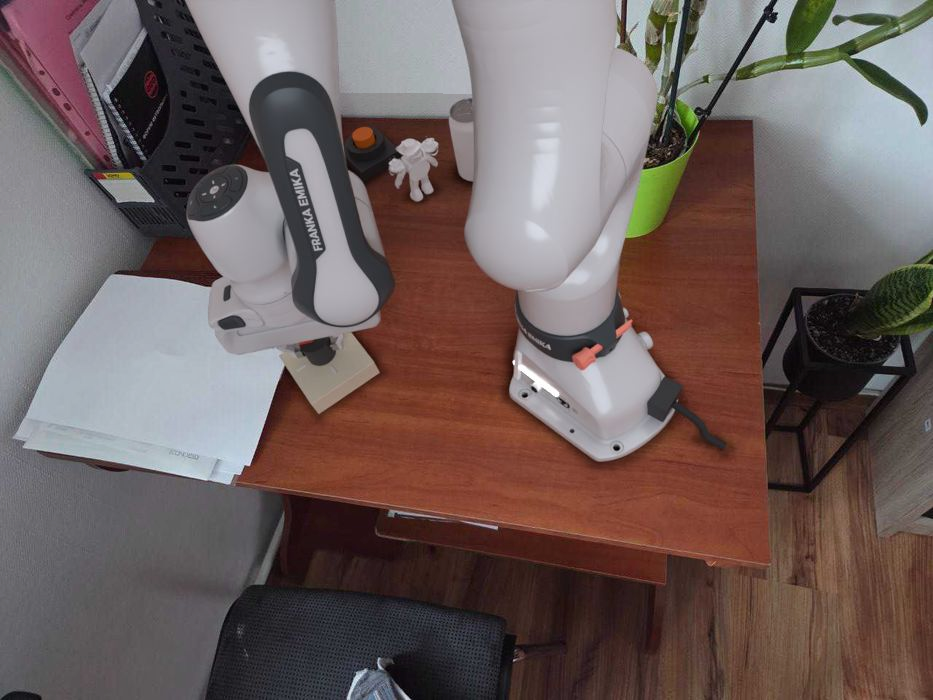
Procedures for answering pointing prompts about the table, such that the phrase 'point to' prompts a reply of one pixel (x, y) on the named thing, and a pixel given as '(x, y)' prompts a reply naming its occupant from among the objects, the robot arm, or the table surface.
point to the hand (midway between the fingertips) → (319, 349)
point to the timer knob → (318, 351)
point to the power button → (363, 137)
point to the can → (463, 137)
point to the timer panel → (332, 373)
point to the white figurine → (415, 165)
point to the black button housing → (370, 155)
